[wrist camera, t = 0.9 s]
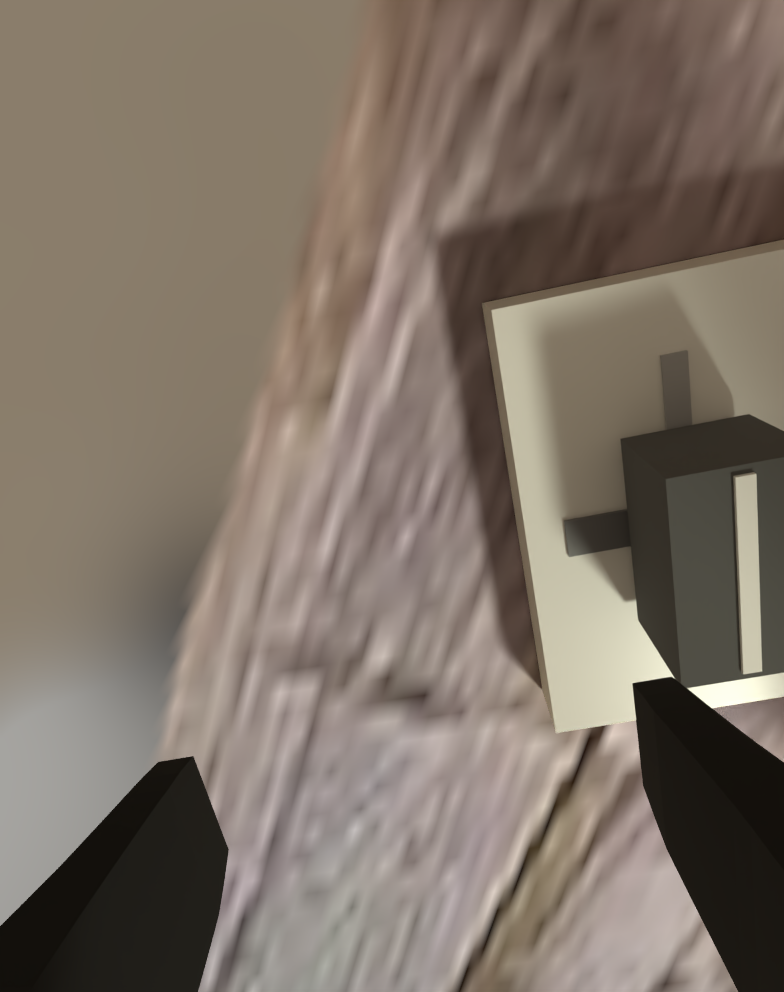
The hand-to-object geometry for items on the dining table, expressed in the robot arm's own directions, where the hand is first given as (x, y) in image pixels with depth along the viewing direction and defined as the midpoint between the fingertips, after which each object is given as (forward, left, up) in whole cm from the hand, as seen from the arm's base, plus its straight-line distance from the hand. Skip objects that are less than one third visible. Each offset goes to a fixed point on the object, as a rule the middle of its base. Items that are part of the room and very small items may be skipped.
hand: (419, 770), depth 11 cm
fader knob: (-7, 0, -7) cm, 10 cm away
